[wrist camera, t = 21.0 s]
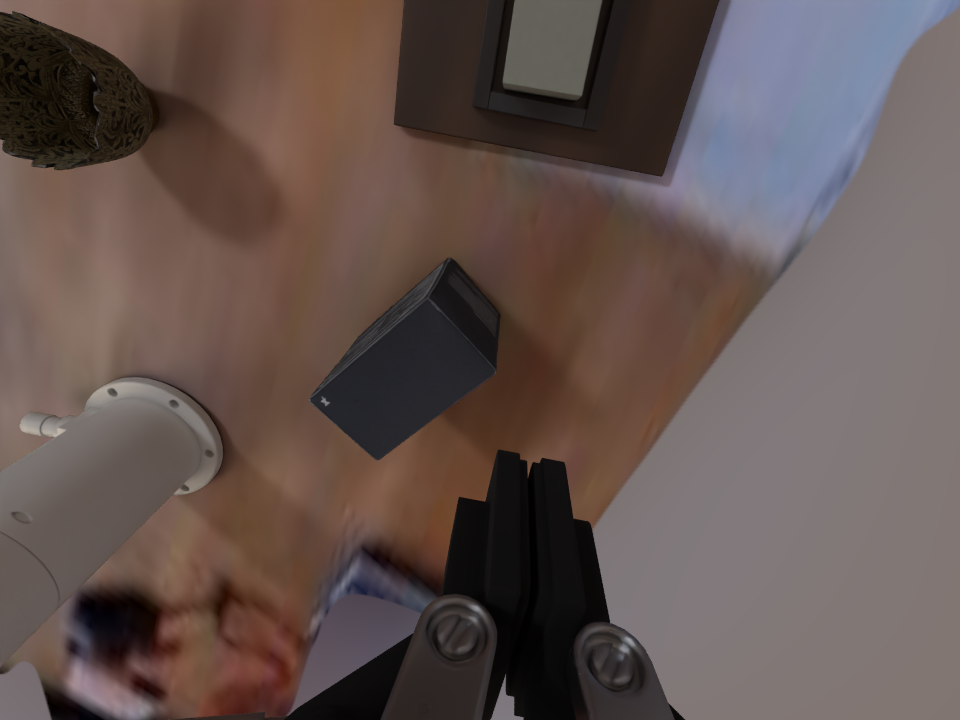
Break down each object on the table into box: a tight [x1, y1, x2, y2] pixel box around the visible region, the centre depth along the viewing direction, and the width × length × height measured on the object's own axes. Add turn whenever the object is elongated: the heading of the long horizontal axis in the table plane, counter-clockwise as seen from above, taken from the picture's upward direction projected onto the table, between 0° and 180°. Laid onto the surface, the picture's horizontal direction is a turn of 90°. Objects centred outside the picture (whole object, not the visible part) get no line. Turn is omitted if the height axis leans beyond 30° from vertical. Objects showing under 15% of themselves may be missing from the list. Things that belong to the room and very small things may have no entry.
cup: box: [0, 11, 159, 170], centre depth 28 cm, size 8×7×8 cm
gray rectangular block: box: [503, 0, 602, 102], centre depth 26 cm, size 4×7×4 cm, turn 171°
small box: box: [309, 258, 500, 460], centre depth 32 cm, size 11×6×10 cm, turn 131°
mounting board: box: [394, 0, 719, 176], centre depth 27 cm, size 18×14×2 cm
